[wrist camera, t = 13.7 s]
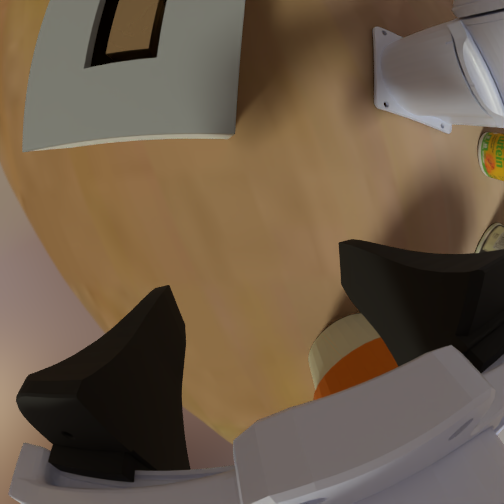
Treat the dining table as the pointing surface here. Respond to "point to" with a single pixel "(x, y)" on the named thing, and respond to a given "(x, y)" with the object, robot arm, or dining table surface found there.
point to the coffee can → (492, 239)
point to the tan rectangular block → (135, 30)
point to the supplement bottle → (492, 155)
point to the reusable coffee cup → (348, 356)
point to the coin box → (134, 78)
